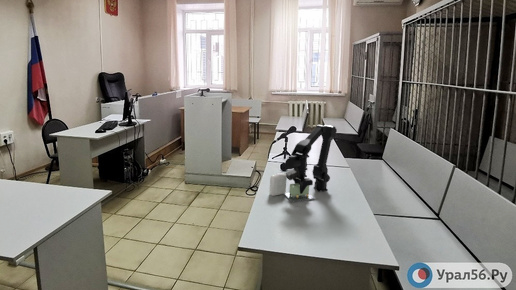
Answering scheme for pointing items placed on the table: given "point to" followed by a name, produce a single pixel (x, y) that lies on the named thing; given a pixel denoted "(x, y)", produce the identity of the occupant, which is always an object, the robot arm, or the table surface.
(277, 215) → the table surface
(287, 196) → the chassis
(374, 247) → the table surface
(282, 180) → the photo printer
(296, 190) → the block
